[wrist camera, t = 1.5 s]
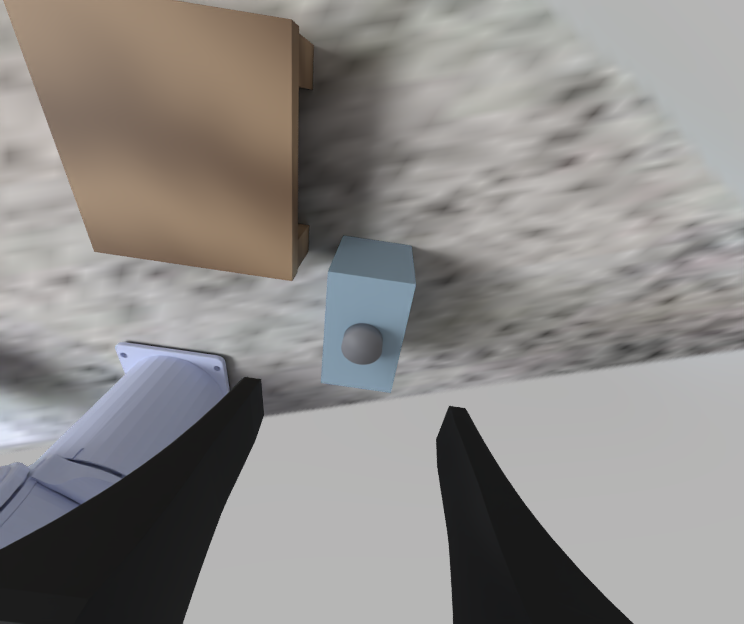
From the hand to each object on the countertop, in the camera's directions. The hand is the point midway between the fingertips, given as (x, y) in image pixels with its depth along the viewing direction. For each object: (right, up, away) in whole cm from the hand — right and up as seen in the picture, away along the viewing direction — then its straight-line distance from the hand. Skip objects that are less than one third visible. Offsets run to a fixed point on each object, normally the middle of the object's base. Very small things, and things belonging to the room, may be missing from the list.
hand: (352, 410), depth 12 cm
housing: (+1, +5, +8) cm, 10 cm away
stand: (-7, +12, +4) cm, 15 cm away
